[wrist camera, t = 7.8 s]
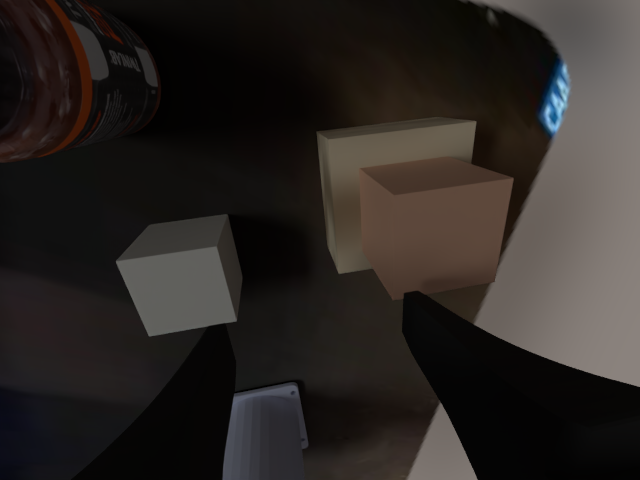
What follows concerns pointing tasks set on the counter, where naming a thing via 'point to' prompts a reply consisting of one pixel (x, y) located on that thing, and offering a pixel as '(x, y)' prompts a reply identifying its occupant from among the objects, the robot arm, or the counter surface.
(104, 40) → the supplement bottle
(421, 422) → the counter surface
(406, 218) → the terracotta cube
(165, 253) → the grey cube
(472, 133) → the birch base block
